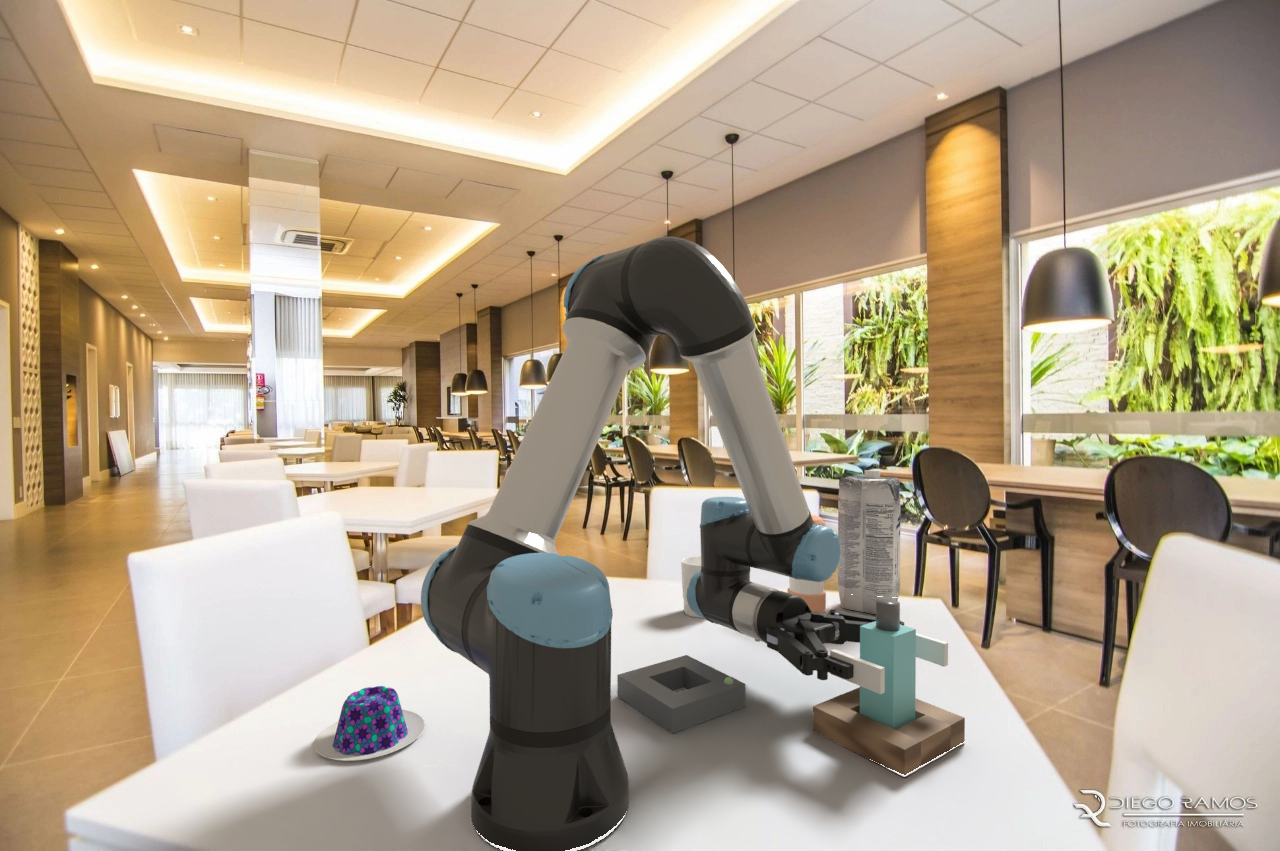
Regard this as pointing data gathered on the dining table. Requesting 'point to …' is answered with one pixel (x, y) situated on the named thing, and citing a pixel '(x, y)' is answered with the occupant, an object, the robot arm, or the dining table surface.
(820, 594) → the pepper shaker
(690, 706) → the port
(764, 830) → the dining table surface
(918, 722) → the holster
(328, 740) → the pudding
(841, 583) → the juice carton
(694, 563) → the white cup
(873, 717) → the plug
